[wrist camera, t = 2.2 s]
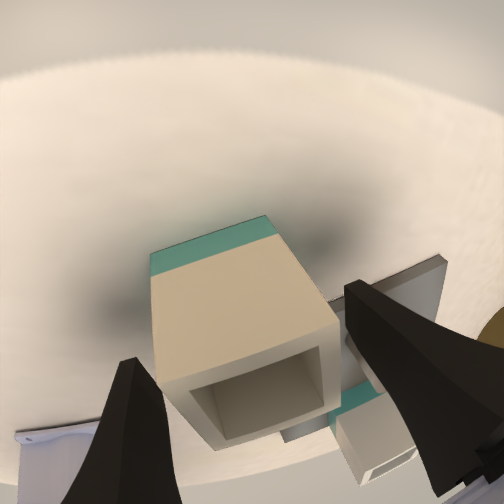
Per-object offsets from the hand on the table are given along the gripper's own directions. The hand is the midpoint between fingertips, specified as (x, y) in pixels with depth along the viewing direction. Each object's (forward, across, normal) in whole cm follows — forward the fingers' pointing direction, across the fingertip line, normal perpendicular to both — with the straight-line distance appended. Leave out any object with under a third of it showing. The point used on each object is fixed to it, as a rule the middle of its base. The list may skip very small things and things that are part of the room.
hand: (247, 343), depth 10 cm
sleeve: (+4, 0, 0) cm, 4 cm away
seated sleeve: (+3, -6, +14) cm, 16 cm away
